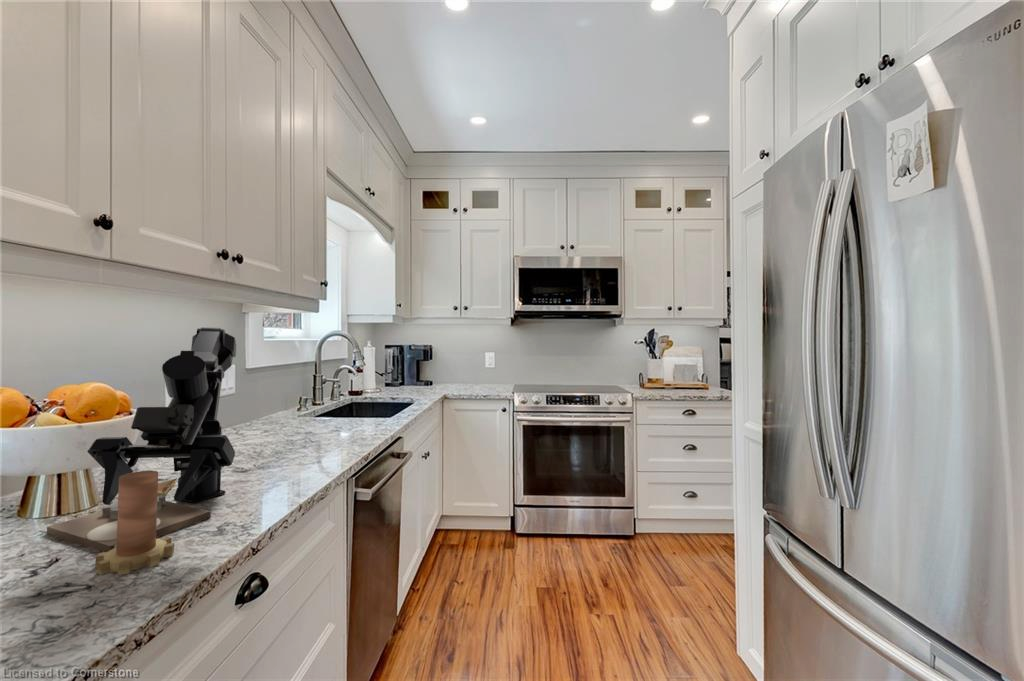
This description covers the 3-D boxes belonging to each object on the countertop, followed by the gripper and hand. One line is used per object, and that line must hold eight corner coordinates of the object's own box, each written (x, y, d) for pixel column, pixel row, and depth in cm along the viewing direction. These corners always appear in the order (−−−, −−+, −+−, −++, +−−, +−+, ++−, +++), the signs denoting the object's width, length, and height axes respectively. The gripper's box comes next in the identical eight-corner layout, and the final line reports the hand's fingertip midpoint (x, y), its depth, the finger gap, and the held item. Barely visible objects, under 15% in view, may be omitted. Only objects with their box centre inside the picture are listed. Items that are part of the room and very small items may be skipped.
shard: (176, 484, 98) (176, 476, 98) (198, 489, 95) (198, 481, 95) (118, 500, 88) (118, 491, 88) (141, 505, 85) (141, 496, 85)
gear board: (150, 503, 85) (150, 485, 85) (210, 517, 79) (210, 498, 79) (46, 533, 71) (47, 512, 71) (110, 554, 65) (110, 530, 65)
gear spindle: (151, 541, 69) (153, 464, 69) (187, 552, 66) (190, 470, 66) (80, 567, 61) (83, 479, 61) (118, 581, 58) (121, 487, 58)
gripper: (99, 386, 68) (33, 477, 57) (229, 386, 71) (192, 472, 60) (130, 427, 75) (78, 514, 64) (247, 425, 79) (217, 507, 68)
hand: (141, 501), depth 64 cm, fingers open, 9 cm apart
